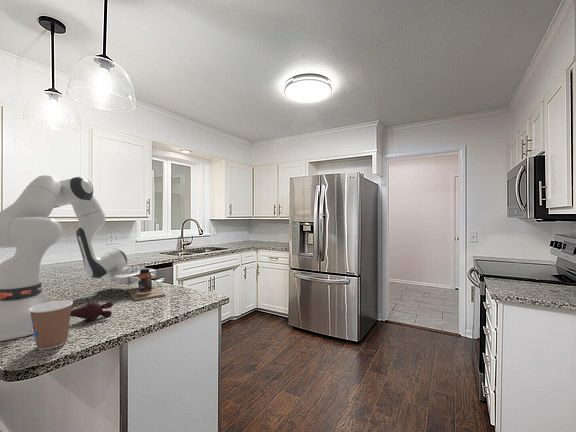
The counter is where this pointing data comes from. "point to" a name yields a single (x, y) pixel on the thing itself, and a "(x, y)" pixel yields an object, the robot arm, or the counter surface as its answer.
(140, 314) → the counter surface
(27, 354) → the counter surface
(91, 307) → the dark red toy figure
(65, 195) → the robot arm
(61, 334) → the coffee cup
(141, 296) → the board
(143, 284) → the supplement bottle
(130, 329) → the counter surface
